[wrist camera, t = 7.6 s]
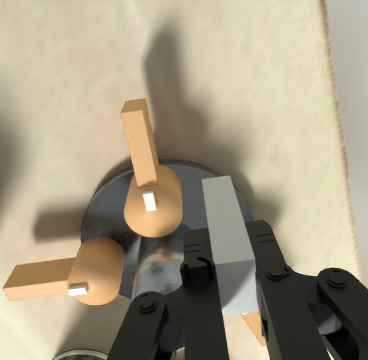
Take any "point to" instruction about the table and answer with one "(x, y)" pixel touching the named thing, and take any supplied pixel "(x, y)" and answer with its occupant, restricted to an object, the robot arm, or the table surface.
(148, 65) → the table surface
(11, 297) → the knob
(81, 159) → the table surface
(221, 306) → the robot arm
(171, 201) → the knob
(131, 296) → the base
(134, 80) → the table surface
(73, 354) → the coffee can
